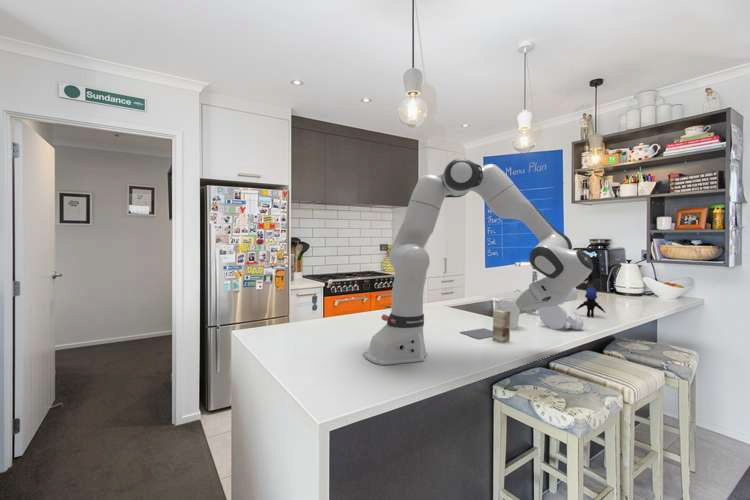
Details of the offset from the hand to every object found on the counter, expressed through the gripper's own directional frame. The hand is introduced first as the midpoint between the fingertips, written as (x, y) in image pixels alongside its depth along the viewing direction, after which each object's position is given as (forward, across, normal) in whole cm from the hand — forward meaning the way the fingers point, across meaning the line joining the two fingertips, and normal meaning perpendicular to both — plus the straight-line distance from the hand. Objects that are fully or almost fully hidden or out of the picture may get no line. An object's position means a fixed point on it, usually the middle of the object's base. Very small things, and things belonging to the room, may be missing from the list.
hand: (528, 311), depth 137 cm
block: (+19, 0, +1) cm, 19 cm away
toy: (+26, -74, -6) cm, 79 cm away
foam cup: (+28, -19, -8) cm, 35 cm away
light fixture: (+23, -41, -2) cm, 47 cm away
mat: (+27, 0, -7) cm, 28 cm away
